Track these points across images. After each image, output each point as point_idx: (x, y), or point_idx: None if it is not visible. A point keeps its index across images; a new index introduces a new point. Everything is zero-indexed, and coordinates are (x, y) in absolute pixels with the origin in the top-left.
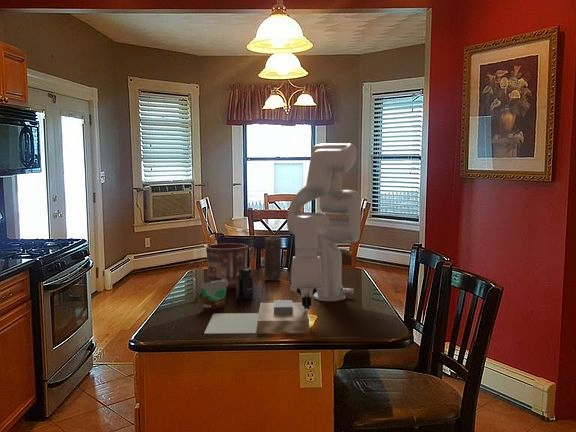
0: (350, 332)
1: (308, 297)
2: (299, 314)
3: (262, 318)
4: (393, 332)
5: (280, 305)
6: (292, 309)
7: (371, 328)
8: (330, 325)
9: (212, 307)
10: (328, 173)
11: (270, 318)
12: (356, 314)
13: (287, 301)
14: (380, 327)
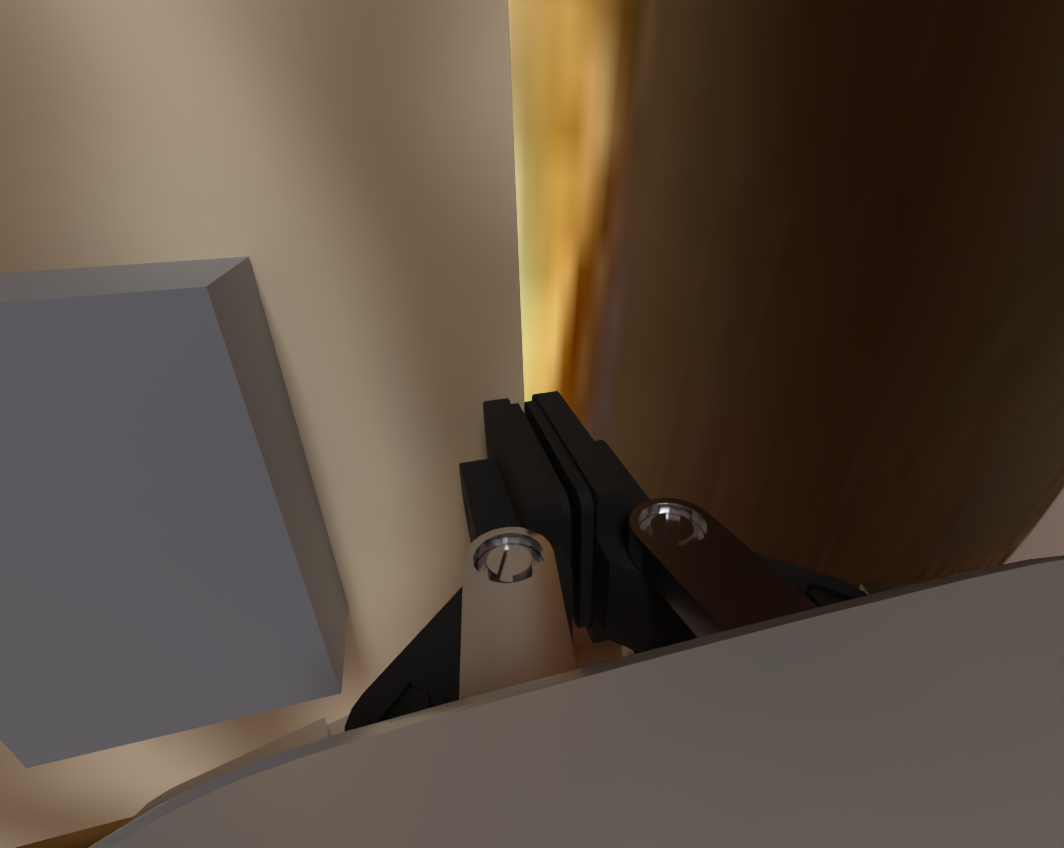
0: (781, 553)
1: (605, 640)
2: (430, 584)
3: (2, 789)
4: (1001, 510)
5: (99, 675)
6: (341, 663)
7: (935, 458)
8: (692, 428)
9: None
10: None
11: (112, 766)
12: (1057, 3)
13: (127, 416)
14: (996, 430)
